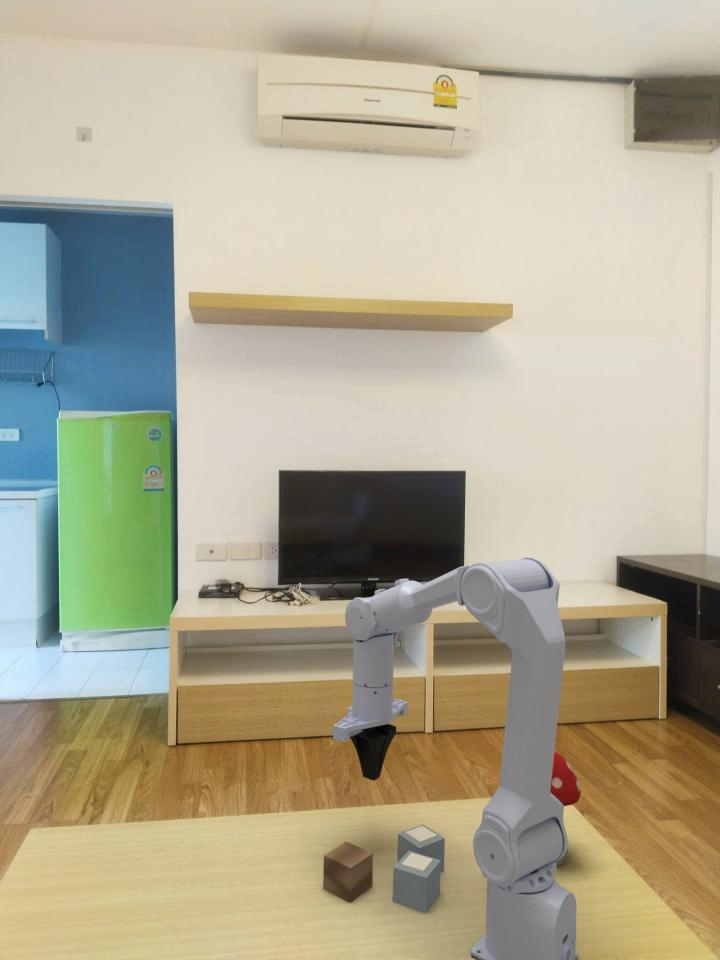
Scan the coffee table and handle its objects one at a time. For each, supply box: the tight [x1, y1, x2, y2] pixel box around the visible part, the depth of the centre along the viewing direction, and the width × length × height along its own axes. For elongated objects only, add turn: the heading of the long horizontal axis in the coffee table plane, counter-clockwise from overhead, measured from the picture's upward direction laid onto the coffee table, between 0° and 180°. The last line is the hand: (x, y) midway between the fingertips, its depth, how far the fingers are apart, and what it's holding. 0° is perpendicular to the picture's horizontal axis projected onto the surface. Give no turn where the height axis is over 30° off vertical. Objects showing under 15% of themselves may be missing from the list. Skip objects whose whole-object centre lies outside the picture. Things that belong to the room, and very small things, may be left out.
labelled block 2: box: [392, 851, 441, 914], centre depth 91 cm, size 4×4×5 cm
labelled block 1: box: [396, 824, 446, 872], centre depth 98 cm, size 4×4×5 cm
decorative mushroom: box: [550, 750, 582, 867], centre depth 101 cm, size 10×9×15 cm
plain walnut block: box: [322, 841, 374, 904], centre depth 93 cm, size 4×4×4 cm
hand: (371, 777), depth 102 cm, fingers closed
